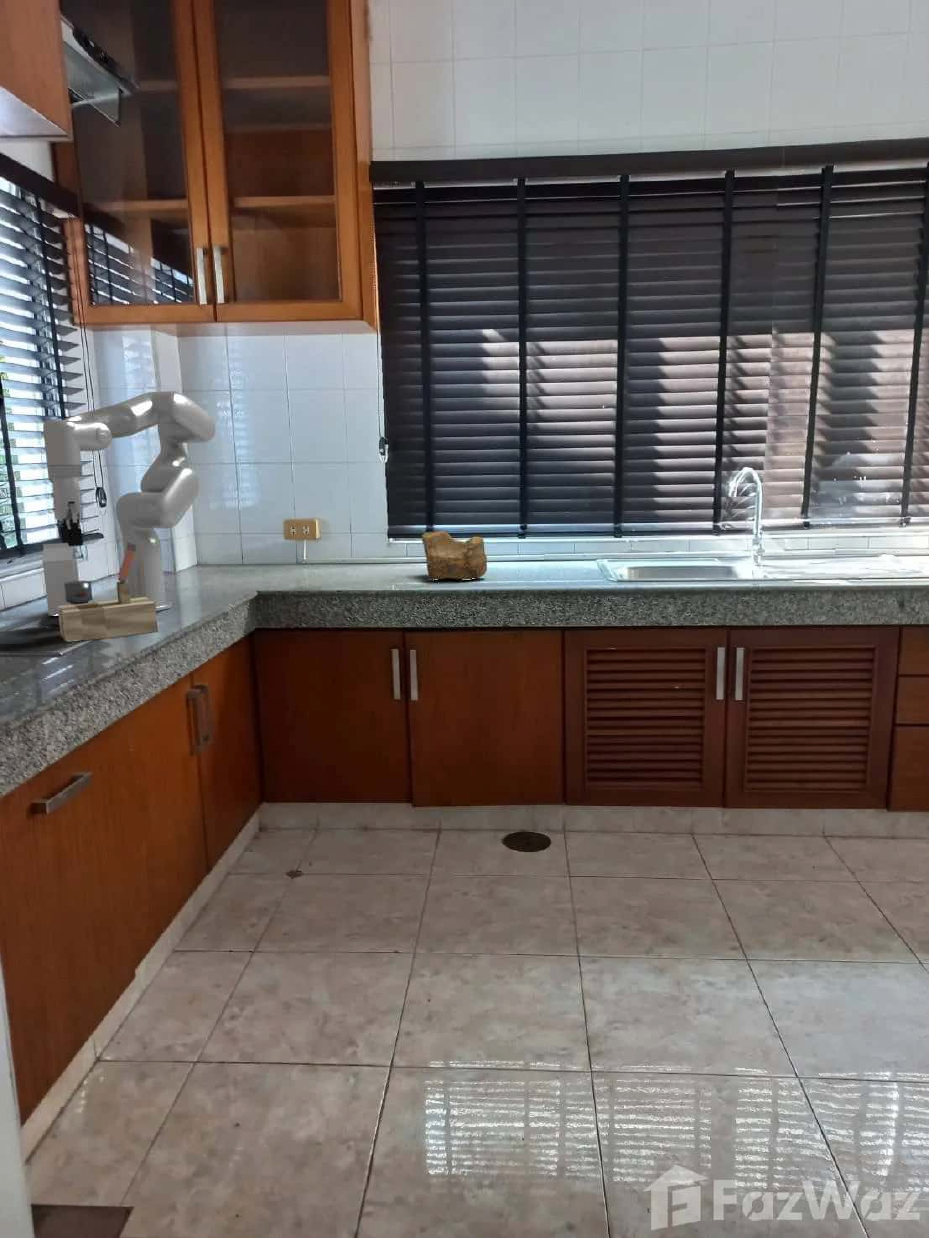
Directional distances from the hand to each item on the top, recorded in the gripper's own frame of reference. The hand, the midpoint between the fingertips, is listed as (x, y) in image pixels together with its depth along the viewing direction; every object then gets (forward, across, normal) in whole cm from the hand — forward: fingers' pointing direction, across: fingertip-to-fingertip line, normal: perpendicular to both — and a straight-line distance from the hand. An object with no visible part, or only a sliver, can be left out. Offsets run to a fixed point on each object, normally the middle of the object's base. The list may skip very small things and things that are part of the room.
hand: (72, 544), depth 205 cm
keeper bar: (+4, +13, +9) cm, 16 cm away
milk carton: (+21, -19, -1) cm, 28 cm away
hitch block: (+21, +13, +4) cm, 25 cm away
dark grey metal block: (+21, 0, 0) cm, 21 cm away
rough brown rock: (+20, -6, +111) cm, 113 cm away
